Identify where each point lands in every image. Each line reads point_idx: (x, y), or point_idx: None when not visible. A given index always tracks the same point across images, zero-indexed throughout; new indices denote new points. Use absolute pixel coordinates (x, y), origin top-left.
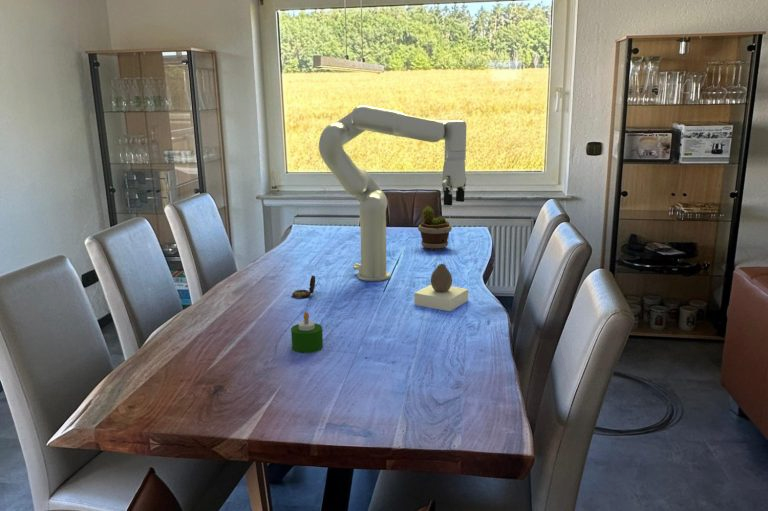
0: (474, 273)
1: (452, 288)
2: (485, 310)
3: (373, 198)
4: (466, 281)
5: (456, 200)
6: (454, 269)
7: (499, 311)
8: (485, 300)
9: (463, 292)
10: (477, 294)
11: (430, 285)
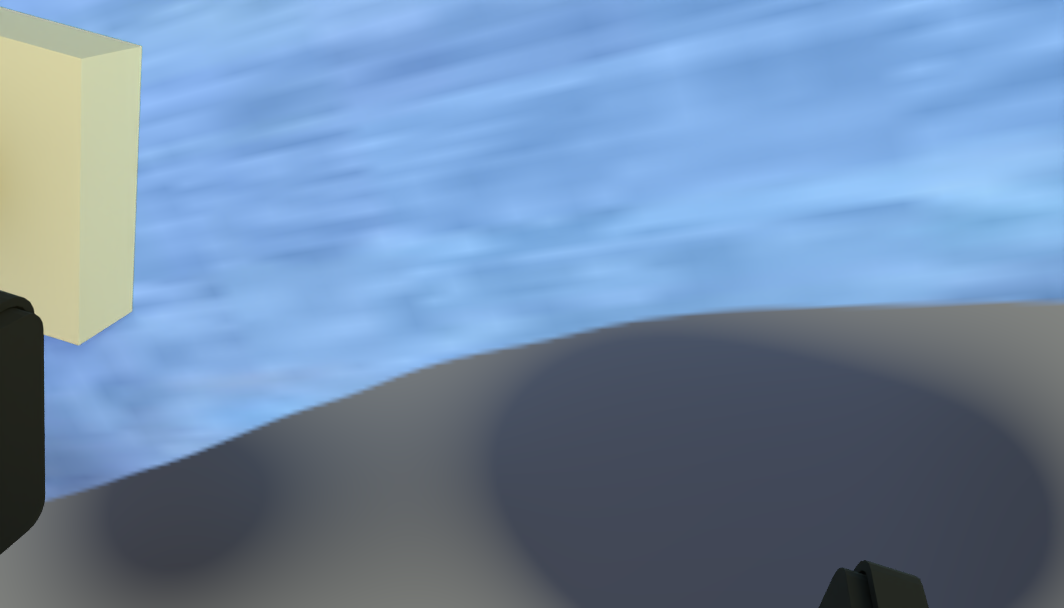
0: (874, 264)
1: (34, 236)
2: None
3: None
4: (583, 233)
5: (839, 587)
6: (1005, 42)
7: (47, 494)
8: (188, 412)
9: None
10: (284, 354)
11: (14, 50)
